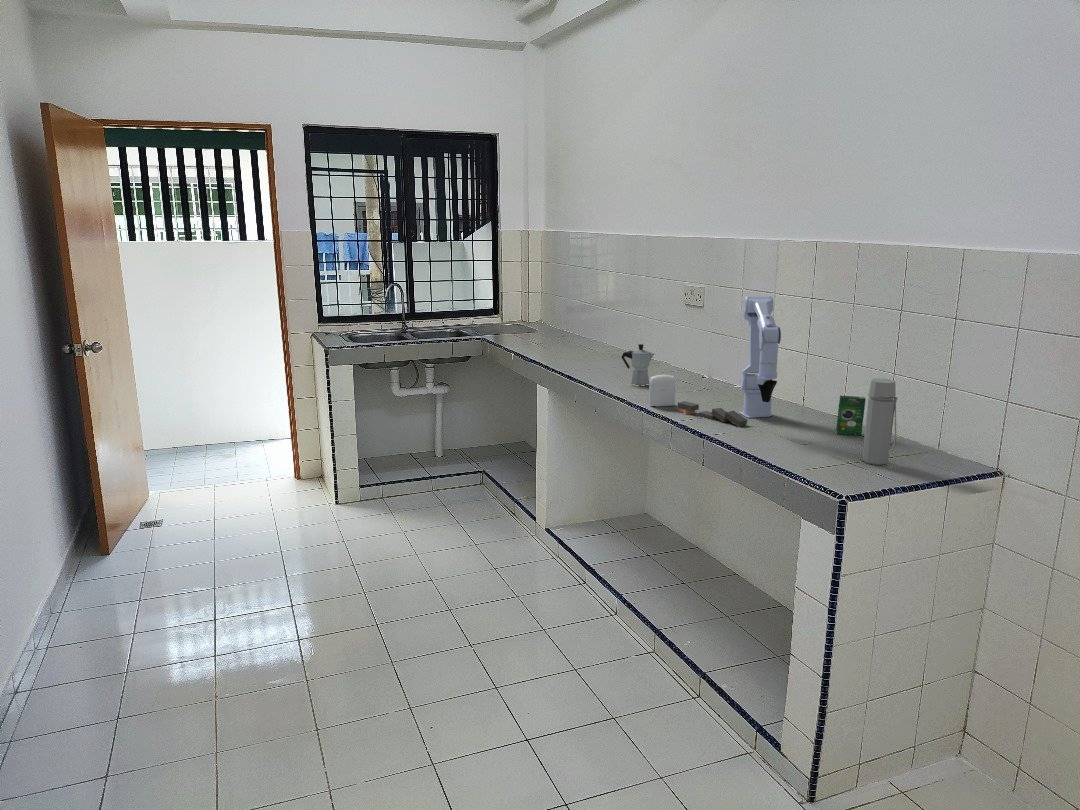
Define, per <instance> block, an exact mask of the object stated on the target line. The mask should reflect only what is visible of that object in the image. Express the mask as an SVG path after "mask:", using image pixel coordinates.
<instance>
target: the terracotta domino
mask: <svg viewBox="0 0 1080 810" xmlns="http://www.w3.org/2000/svg"><path fill="white" fill-rule="evenodd" d="M678 410H679V411H678ZM676 411H678V412H680V411H681V412H680V413H682V412H683V413H682V414H684V413H685V414H684V415H693V414H692V413H694V414H696V410H695V411H688V410H684V409H680V408H678V405H676Z"/></svg>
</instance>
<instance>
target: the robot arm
mask: <svg viewBox="0 0 1080 810" xmlns="http://www.w3.org/2000/svg"><path fill="white" fill-rule="evenodd" d="M773 310H774V298H773V296H772V295H769V296H767V295H766V296H761V295H759V296H758V295H757V296H751V295H749V296H748V295H746V296H744V299H743V311H742V312H743V319H744V320H746V321H747V322H748V327H749V331H748V333H749V342H748V343H749V344H748V346H749V347H748V352H749V353H748V365H747V366H746V367H744V368H743V369H742V370H741V372H740V374H741V375H740V390H742V392H744V393H743V394H744V395H743V410H742V411H738V414H739V415H741V416H743V417H744V418H746V419H749V418H768V417H770V416H771V417H772V414H771V412H772V395H773V391H774V390H775V387H776V386H777V384H778V380H775V379H777V378H778V370H777V369H778V356H779V355H778V353H779V345H780V344H781V340H782V331H781V327H780V326H777V325H776V322H775V318H774V317H773V315H772V312H773Z"/></svg>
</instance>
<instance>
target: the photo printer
mask: <svg viewBox="0 0 1080 810" xmlns="http://www.w3.org/2000/svg"><path fill="white" fill-rule="evenodd" d="M648 386H649V387H648V388H649V389H648V390H649V391H648V392H649V393H648V394H649V395H648V401H649V402H648V403H649V404H648V406H649V405H650V406H649V407H651V406H656V407H672V406H675V405H676V378H675V376H673V375H669V374H658V375H653V376H651V377H650V378H649V385H648Z"/></svg>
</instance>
